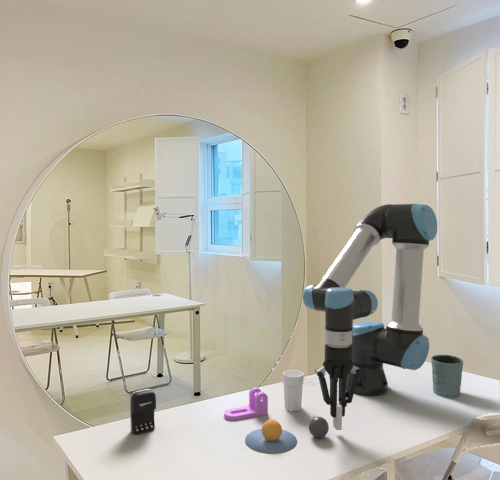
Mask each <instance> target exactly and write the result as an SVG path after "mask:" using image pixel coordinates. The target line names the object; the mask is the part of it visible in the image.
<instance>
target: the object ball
mask: <svg viewBox="0 0 500 480" xmlns="http://www.w3.org/2000/svg"><path fill="white" fill-rule="evenodd" d="M261 429H262V434H263V436H264V438H265V439H266V440H268V441H276V440H278V439H279V438H280V436H281V434H282V430H283V428H282V425H281V424H280V422H279V421H277V420H275V419H267V420H266V421H265V422H264V423H263V424H262V427H261Z"/></svg>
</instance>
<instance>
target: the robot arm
mask: <svg viewBox="0 0 500 480" xmlns="http://www.w3.org/2000/svg"><path fill="white" fill-rule="evenodd" d="M437 232H438V220H437V217H436V213H435V211H434V209H433V208H432V207H431V206H430V205H428V204H422V203H421V204H420V203H419V204H418V203H401V204H400V203H398V204H396V203H395V204H391V203H390V204H389V203H388V204H383V205H380V206H378V207H375V208H374V209H372V210H371V211H369V212H368V213H366V215H364V216H363V217H362V218H361V219H359V221H358V222H357V223H356V226H355V227H354V229H353V234H352V236H351V237H350V239H349V240H348V241H347V243H346V245H345V246H344V247H343V249H342V250H341V251H340V253H339V254H338V256H337V257H336V258H335V260H334V261H333V263H332V264H331V265H330V267H329V268H328V270H327V271H326V272H325V274H324V275H323V277H322V278H321V279H320V281H319V282H318V283H317V285H316V284H311V285H308V286H306V287H305V288H304V291H303V294H302V301H303V304H304V306H305V307H306V308H308V309H310V310H313V311H317V312H324V314H325V315H324V316H325V317H324V319H325V321H324V322H325V325H324V343H325V344H324V362H323V364H322V367H320V368H316V369H314V372H315V374H316V376H317V378H318V381H319V385H320V389H321V394H322V397H323V401H324V402H325V404H326V405H327V406H329V407H330V408H329V409H330V412H329V413H330V414H329V415H330V416H331V417H332V421H333V422H332V426H333V428H334V429H335V430H336V431H342V430H343V417H345V416H346V408H347V406H348V405H347V404H351V403H352V402H353V399H354V396H355V395H354V394H357V395H362V396H363V395H364V396H378V395H383V394H386V393H387V392H388V389H389V385H388V384H389V383H388V380H387V379H388V378H387V376H386V373H385V370H384V364H385V365H390V366H393V367H396V368H400V369H402V370H410V371H416V370H419V369H420V368H421V367H422V366H423V365H424V363H425V362H426V361H427V357H428V354H429V351H430V341H429V337H427V336H426V335H425V334H424V328H423V327H422V325H420V321H419V320H420V310H421V308H420V307H421V296H422V295H421V294H422V279H423V278H422V277H423V266H424V265H423V262H424V251H425V250H426V249H427V248H428V247H429V246H430V241H433V240H434V239H435V238H436V237H437ZM384 239H392V241H391V244H392V245H393V246H394V248H395V249H396V252H395V267H394V278H393V279H394V282H393V296H392V309H391V320H390V321H389V322H388V323H386V328H385V324H384V323H383V321H382V322H381V321H377V320H376V321H372V320H371V321H361V322H360V321H359V322H355V323H354V320H357V319H360V318H361V319H362V318H366V317H368V316H370V315H373V314H374V313H375V312H376V311H377V310H378V304H379V302H378V297H377V296H376V295H375V293H374V292H373V291H371V290H368V289H360V290H353V289H351V288H348V287H347V285H348V284H349V282H350V281H351V279H352V278H353V277H354V275H355V273H356V272H357V270H358V269H360V267H361V265H362V263H363V261H365V259H366V257H367V256H368V254H369V253H370V251H371V249H372V248H373V247H376V246H377V245H378V244H380V241H381V240H384ZM326 373H327V374H328V375H329V388H328V384H327V379H326V377H325V376H326Z"/></svg>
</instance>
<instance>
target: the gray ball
mask: <svg viewBox="0 0 500 480" xmlns="http://www.w3.org/2000/svg"><path fill="white" fill-rule="evenodd" d="M329 427H330V426H329V423H328V421H327V420H326V419H325V418H324V417H323V416H314V417H313V418H311V419H310V421H309V423H308V431H309V433H310V435H311V436H313V437H314V438H316V439H322V438H324V437H326V436H327V435H328V433H329V431H330V430H329V429H330V428H329Z"/></svg>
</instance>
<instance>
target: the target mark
mask: <svg viewBox="0 0 500 480" xmlns="http://www.w3.org/2000/svg"><path fill="white" fill-rule="evenodd" d="M244 439H245V441H244V442H245V445H246V446H247V447H248V448H250V449H252V450H253V451H256V452H259V453H264V454H279V453H280V454H282V453H284V452H288V451H291V450H293V449H294V448H295V447H296V445H297V443H298V439H297V437H296V436H295V434H293V433H292V432H290V431H288V430H285V429H282V434H281V436H280V438H279V439H278V440H276V441H268V440H266V439H265V438H264V436H263V434H262V428H258V429H255V430H253V431H250V432H249V433H248V434H246V436H245V438H244Z"/></svg>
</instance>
